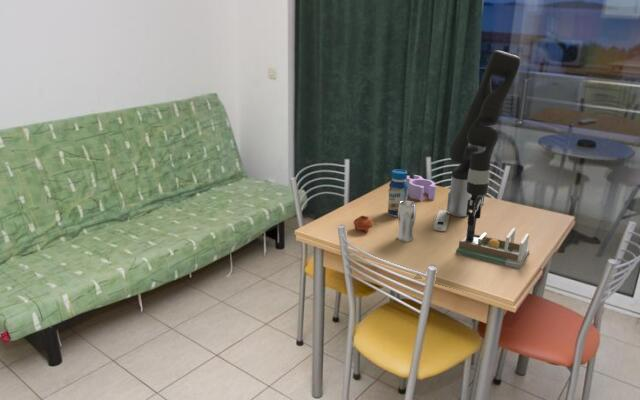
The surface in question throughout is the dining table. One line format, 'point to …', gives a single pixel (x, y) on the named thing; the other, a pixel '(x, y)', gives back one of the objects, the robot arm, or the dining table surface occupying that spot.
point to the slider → (470, 235)
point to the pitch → (498, 250)
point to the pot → (363, 223)
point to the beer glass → (406, 220)
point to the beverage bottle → (397, 191)
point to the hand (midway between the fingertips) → (473, 221)
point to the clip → (420, 188)
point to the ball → (493, 243)
